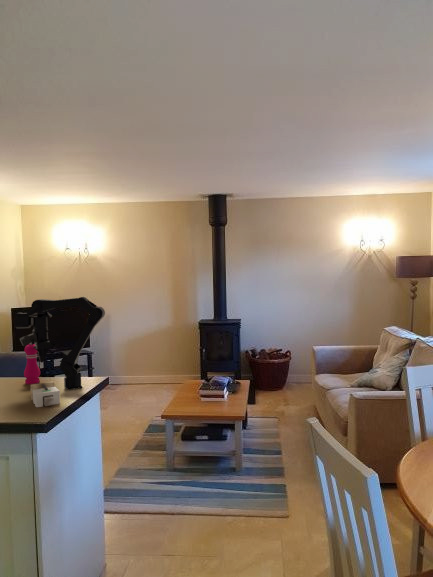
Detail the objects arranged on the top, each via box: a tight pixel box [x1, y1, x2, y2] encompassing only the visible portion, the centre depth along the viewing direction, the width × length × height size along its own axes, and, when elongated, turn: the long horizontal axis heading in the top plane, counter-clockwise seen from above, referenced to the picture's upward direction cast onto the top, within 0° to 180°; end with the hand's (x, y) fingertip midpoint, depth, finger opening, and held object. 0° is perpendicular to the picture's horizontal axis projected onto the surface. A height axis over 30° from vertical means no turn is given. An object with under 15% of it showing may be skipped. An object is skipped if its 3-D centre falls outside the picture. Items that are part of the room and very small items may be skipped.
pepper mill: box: [23, 343, 41, 385], centre depth 201 cm, size 7×7×20 cm
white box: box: [30, 381, 56, 407], centre depth 167 cm, size 9×15×6 cm, turn 32°
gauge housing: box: [32, 386, 61, 408], centre depth 166 cm, size 9×8×5 cm
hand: (41, 362), depth 188 cm, fingers closed
